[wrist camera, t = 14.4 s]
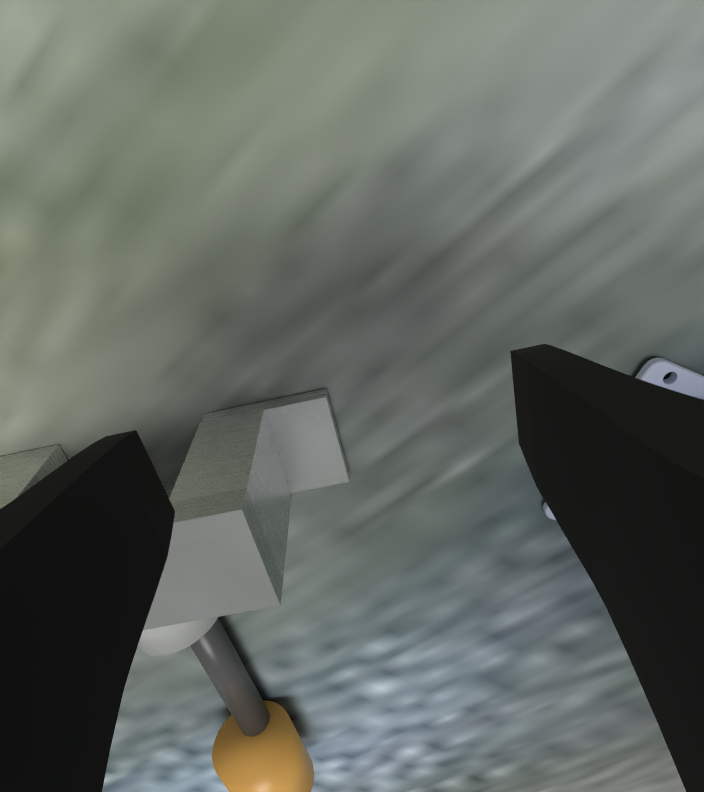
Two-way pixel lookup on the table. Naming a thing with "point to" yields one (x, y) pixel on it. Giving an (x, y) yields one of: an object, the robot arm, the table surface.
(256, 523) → the housing
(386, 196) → the table surface
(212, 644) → the plug
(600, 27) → the table surface
